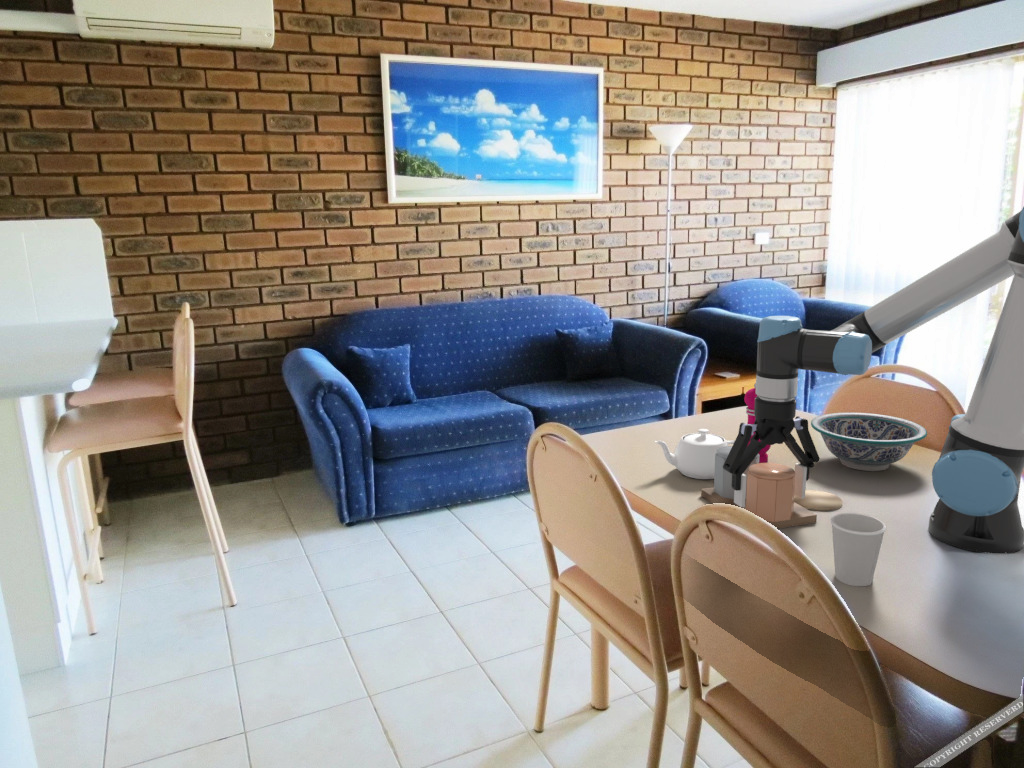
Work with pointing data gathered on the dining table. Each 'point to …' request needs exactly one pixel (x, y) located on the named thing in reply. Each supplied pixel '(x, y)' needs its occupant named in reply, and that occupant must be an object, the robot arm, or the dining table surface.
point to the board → (798, 518)
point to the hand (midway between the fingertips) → (769, 500)
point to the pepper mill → (750, 403)
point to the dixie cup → (856, 547)
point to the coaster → (819, 501)
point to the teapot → (696, 453)
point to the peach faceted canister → (771, 491)
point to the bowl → (867, 438)
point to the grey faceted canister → (726, 473)
